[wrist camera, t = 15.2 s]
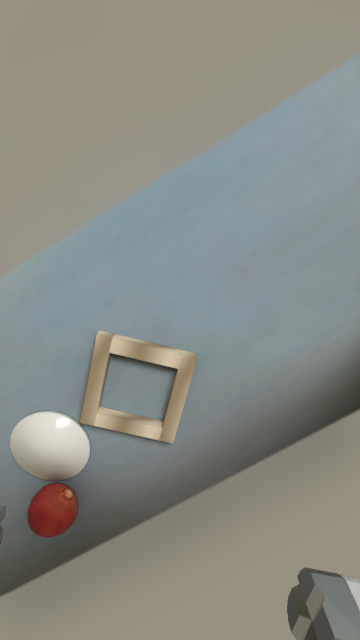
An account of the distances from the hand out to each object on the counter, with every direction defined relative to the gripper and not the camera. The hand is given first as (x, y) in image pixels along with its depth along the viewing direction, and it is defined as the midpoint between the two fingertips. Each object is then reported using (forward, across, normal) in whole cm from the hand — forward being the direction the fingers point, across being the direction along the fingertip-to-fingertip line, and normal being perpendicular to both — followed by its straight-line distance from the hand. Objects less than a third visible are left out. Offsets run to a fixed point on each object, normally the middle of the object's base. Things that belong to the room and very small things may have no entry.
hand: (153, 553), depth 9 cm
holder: (+29, +2, +11) cm, 31 cm away
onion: (+26, +7, +25) cm, 37 cm away
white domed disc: (+29, +11, +22) cm, 38 cm away
